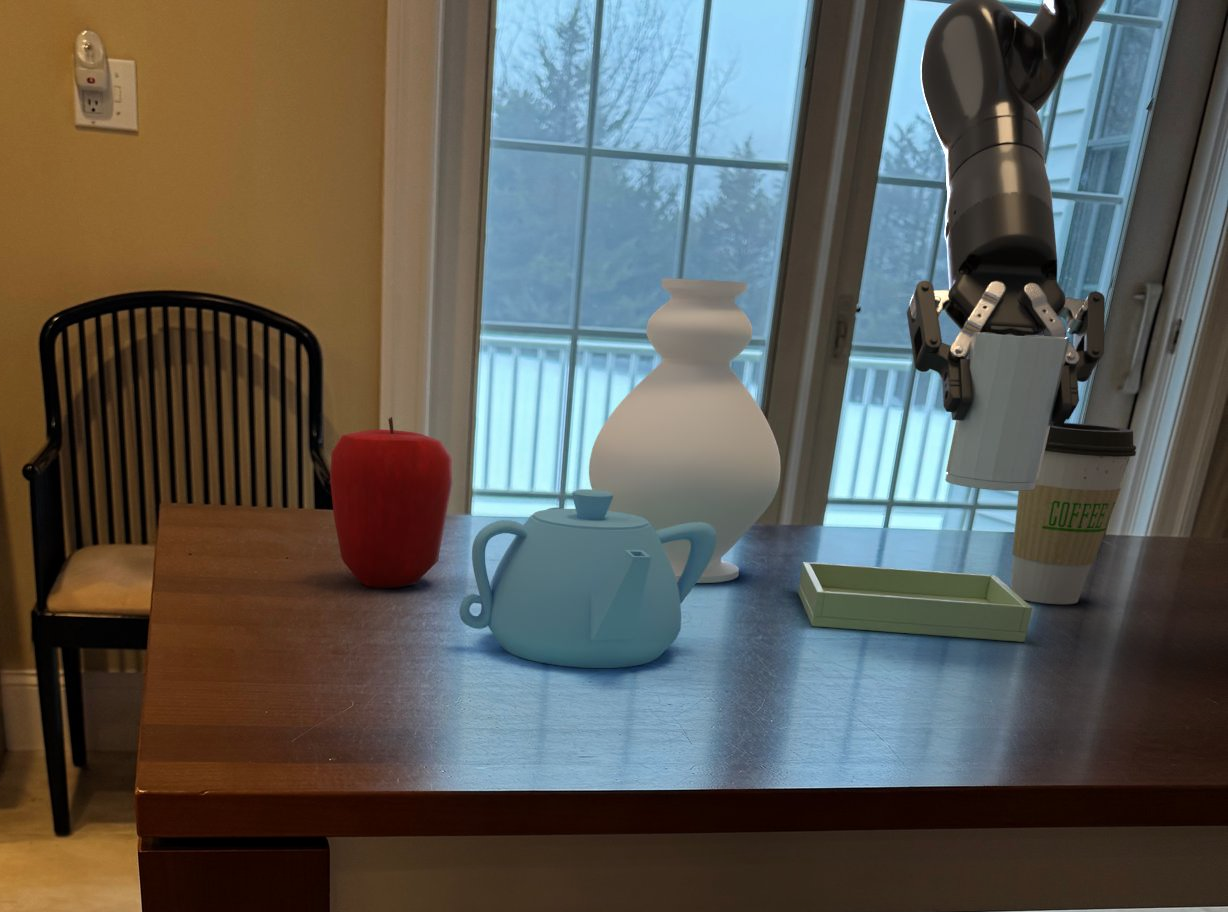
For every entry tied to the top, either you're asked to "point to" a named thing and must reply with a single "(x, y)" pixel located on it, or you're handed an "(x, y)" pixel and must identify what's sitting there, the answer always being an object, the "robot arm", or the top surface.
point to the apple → (390, 504)
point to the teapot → (586, 585)
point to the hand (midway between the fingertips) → (1012, 415)
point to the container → (1007, 411)
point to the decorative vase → (691, 429)
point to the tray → (912, 602)
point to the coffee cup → (1068, 511)
